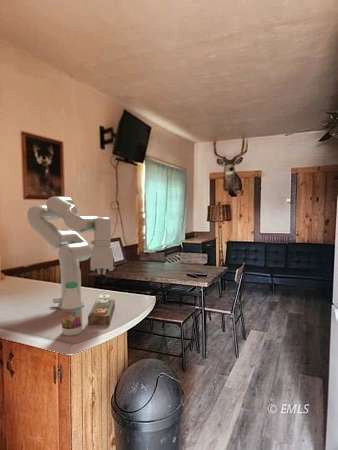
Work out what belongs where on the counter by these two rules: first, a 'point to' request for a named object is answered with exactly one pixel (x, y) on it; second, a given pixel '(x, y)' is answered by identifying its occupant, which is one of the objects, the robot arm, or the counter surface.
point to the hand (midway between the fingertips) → (101, 282)
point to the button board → (101, 318)
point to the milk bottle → (71, 311)
